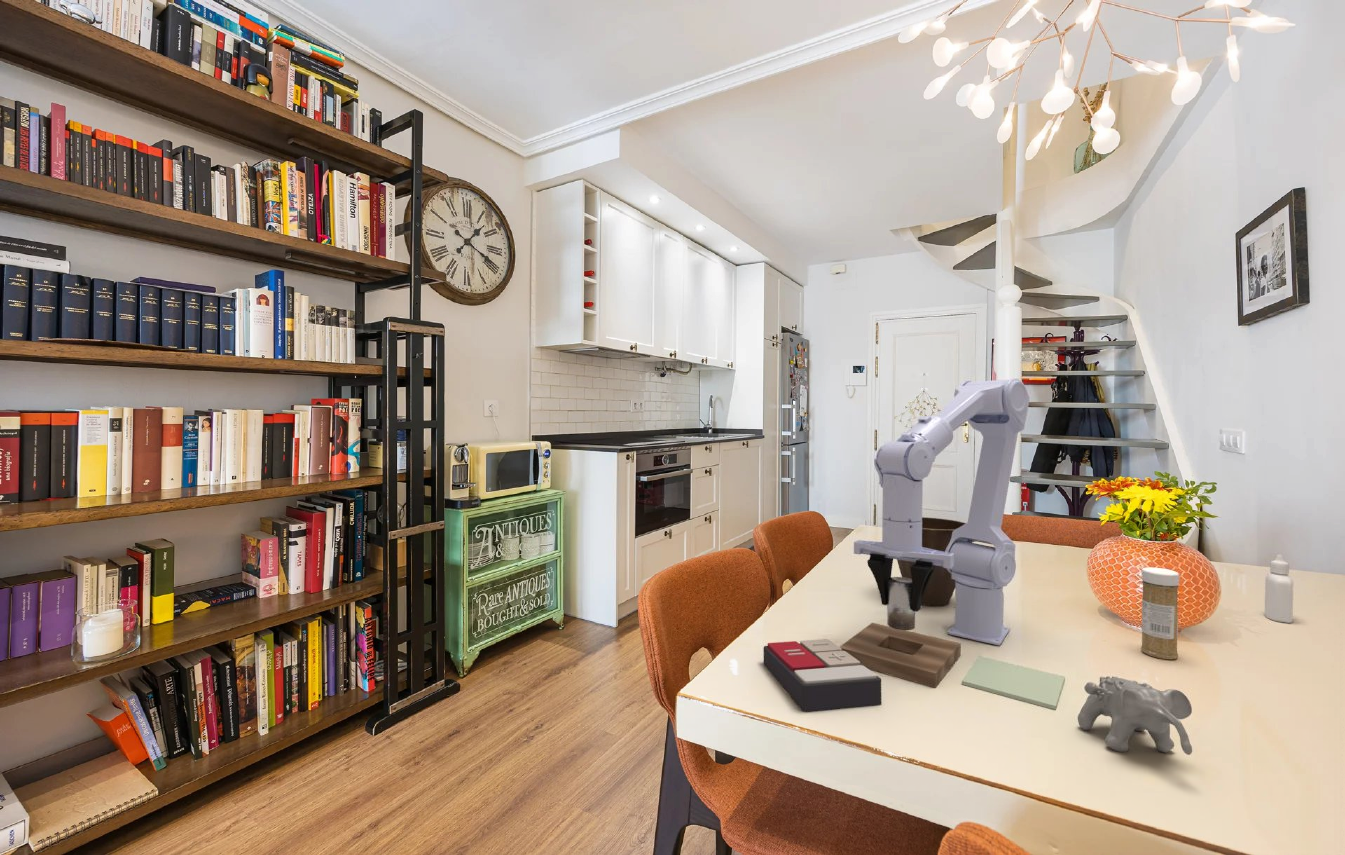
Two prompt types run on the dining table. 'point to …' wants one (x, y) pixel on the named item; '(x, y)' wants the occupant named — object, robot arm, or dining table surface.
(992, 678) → the sage pad
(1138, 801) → the dining table surface
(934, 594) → the plant pot
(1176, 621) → the spice jar
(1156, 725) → the elephant statuette
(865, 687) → the calculator
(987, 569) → the robot arm
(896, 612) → the metal peg
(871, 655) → the walnut holder
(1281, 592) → the eye dropper bottle
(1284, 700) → the dining table surface
